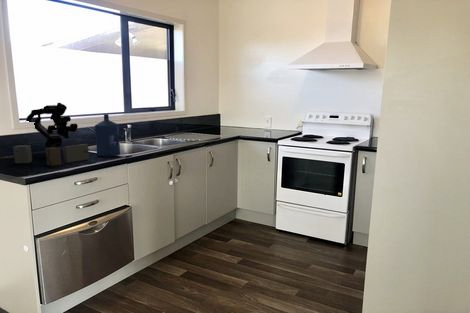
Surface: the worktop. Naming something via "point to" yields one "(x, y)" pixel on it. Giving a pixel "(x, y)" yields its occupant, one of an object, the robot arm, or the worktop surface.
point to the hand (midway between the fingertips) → (67, 138)
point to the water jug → (107, 137)
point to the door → (75, 153)
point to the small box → (22, 154)
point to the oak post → (53, 156)
